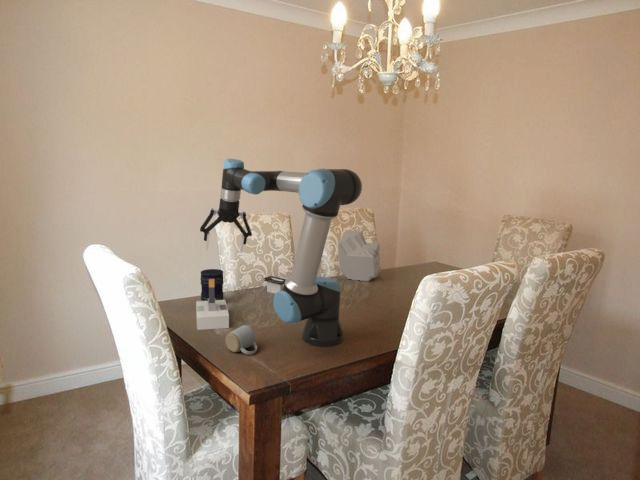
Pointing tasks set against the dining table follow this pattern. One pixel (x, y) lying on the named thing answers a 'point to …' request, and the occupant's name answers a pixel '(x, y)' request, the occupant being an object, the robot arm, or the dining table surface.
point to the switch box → (212, 315)
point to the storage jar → (218, 284)
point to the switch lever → (211, 290)
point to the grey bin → (274, 284)
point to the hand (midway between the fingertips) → (224, 249)
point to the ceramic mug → (241, 340)
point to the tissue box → (358, 257)
